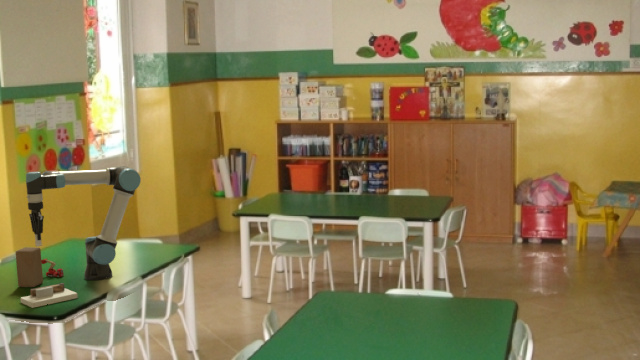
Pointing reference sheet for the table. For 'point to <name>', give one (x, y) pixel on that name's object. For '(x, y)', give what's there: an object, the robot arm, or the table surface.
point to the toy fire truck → (52, 271)
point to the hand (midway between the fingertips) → (38, 245)
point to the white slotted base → (48, 297)
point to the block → (29, 267)
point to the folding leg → (55, 287)
